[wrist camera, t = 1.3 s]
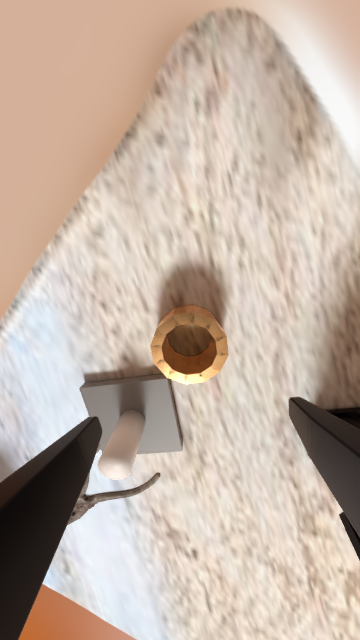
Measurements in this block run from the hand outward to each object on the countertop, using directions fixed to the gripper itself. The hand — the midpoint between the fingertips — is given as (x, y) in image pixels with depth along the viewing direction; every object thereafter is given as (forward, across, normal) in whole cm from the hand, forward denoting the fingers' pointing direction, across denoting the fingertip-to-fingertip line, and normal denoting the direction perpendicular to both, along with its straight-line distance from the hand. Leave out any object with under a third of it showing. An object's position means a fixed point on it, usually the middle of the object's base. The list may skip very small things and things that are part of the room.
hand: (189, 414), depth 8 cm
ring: (+10, 0, 0) cm, 10 cm away
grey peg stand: (+10, +8, +9) cm, 16 cm away
